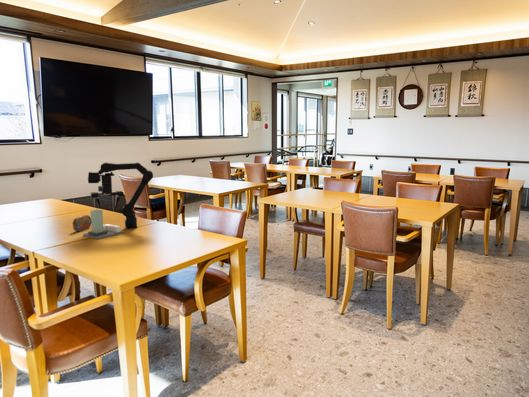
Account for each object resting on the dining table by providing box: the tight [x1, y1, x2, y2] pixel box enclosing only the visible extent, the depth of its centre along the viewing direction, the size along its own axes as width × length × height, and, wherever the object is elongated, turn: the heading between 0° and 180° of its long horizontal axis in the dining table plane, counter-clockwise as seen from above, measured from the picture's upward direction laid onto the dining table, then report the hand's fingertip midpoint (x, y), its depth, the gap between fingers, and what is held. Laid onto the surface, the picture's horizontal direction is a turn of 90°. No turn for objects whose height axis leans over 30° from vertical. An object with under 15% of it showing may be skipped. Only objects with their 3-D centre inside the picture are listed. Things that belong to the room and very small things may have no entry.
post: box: [90, 208, 104, 233], centre depth 231 cm, size 4×4×14 cm
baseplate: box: [82, 223, 125, 240], centre depth 235 cm, size 18×14×4 cm
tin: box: [72, 214, 92, 232], centre depth 245 cm, size 15×3×8 cm, turn 168°
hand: (107, 208), depth 247 cm, fingers open, 9 cm apart
